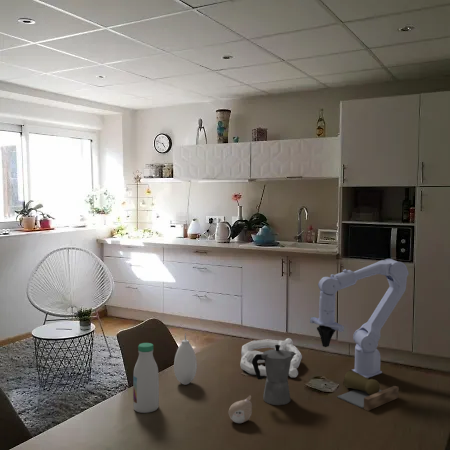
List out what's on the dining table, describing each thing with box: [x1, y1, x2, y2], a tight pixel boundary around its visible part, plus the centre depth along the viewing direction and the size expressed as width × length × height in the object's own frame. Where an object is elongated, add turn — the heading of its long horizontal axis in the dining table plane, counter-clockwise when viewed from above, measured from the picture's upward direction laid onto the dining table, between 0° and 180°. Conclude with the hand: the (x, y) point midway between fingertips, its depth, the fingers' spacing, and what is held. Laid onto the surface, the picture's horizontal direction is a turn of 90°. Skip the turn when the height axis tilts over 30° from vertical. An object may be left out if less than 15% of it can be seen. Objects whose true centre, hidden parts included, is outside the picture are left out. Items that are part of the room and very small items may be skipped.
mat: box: [337, 389, 382, 409], centre depth 157 cm, size 16×10×1 cm, turn 127°
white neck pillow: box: [239, 337, 303, 379], centre depth 186 cm, size 28×24×6 cm
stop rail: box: [363, 385, 400, 412], centre depth 152 cm, size 16×2×4 cm, turn 127°
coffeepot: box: [252, 345, 296, 406], centre depth 154 cm, size 15×9×18 cm, turn 110°
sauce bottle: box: [173, 333, 198, 386], centre depth 167 cm, size 8×8×18 cm
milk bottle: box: [132, 342, 160, 414], centre depth 147 cm, size 8×8×20 cm
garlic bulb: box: [227, 394, 253, 424], centre depth 139 cm, size 7×6×8 cm
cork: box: [343, 369, 381, 395], centre depth 160 cm, size 6×6×11 cm
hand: (325, 346), depth 176 cm, fingers closed
